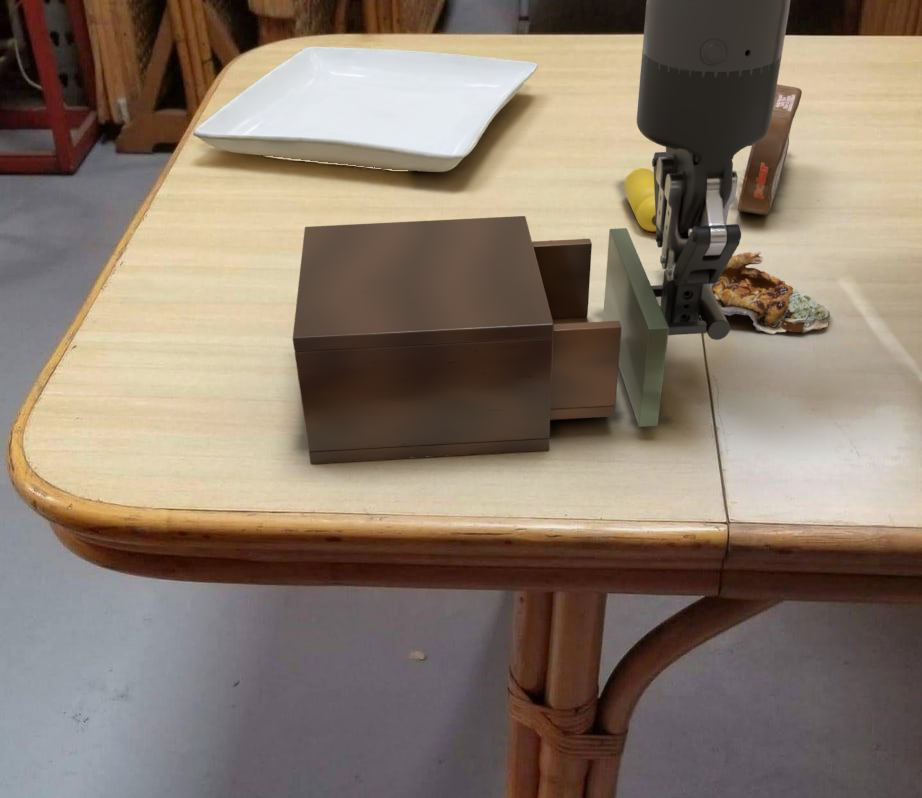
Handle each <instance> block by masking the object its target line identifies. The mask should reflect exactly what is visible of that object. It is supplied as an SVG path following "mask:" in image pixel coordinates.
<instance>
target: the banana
mask: <svg viewBox="0 0 922 798" xmlns="http://www.w3.org/2000/svg"><path fill="white" fill-rule="evenodd" d="M623 190H624V194H625V196H626V198H627V201H628V203H629V205H630V207H631V210H632V212H633V214H634V216H635V219H636V221H637V223H638V225H639V226H640V227H641V228H642V229H643V230H646V232H647V231H648V232H652V233H653V232H654V233H655V232H656V213H655V191H654V170H651V169H649V168H647V167H638V168H635V169H633V170H631V171H630V172H629V173H628V175H627V176H626V178H625V180H624V183H623Z"/></svg>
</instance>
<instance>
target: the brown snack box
mask: <svg viewBox="0 0 922 798" xmlns="http://www.w3.org/2000/svg"><path fill="white" fill-rule="evenodd" d="M802 93H803V91H802V89H801V88H799V87H795V86H789V85H785V84H779V83H777V87H776V93H775V99H774V105H773V112H772V118H771V124H770V128H769V131H768V133H767V134H766V135H765V137H764V138H763V139H761V140H760V141H759V142H757V143H756V144H754V145H752V146H750V147H751V148H750V151H749V155H748V159H747V164H746V168H745V172H744V177H743V180H742V186H741V190H740V195H739V199H738V204H737V205H738V206H737V212H738V213H741V212H744V213H750V214H755V215H761V216H765V215H769V213H770V211H771V209H772V206H773V203H774V200H775V197H776V194H777V191H778V188H779V185H780V180H781V177H782V173H783V169H784V166H785V161H786V158H787V155H788V149H789V145H790V135H791V129H792V125H793V122H794V121H793V120H794V118H795V117H796V116H795V115H796V113H797V110H798V108H799V105H800V102H801V98H802Z"/></svg>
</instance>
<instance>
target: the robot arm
mask: <svg viewBox="0 0 922 798" xmlns="http://www.w3.org/2000/svg"><path fill="white" fill-rule="evenodd" d="M645 3H646V4H645V13H644V26H643V38H642V50H641V51H642V52H641V63H640V75H639V86H638V99H637V111H636V125H637V128H638V130H639V132H640V133H641V134H642V135H643V137H645V138H646V139H647V140H649V141H650V142H652V143H654V144H656V145H658V146H662V147H664V148H665V151H656V152H654V154H653V158H652V160H651V165H652V168H653V172H654V191H655V213H656V231H655V232H656V234H655V243H656V245H657V248H661V255H660V257H659V263H660V264H661V269H662V270H664V271H663V279H662V285H663V288H662V297H660V305H659V306H660V308H661V310H662V313H663V315H664V318H665V320H666V322H667V323H675V322H694V321H699V319H700V317H699V311H700V304H701V297H702V290H703V284H713V283H717V281H718V279H719V278H720V276H721V274H722V273H723V271H724V269H725V267H726V266H727V264H728V262H729V261H730V259H731V257H732V256H734V255H735V252H736V251H737V248H738V247H739V245H740V242H741V239H742V231H741V227H740V225H739V223H732V224H731V223H730V224H727V221H728V216H729V211H730V207H731V205H732V204H733V203H734V202H735V200H736V194H737V188H738V172H737V170H734V168H733V167H734V163H733V159H734V156H735V155H737V154H738V153H739V152H740V151H742V150H743V149H745V148H748V147H752V145H754V144H756V143H757V142H759V141H760V140H761V139H763V138H764V137H765V135H766V134H767V133H768V131H769V128H770V124H771V118H772V112H773V105H774V99H775V93H776V87H777V84H778V80H779V74H780V67H781V63H782V56H783V50H784V46H785V45H784V43H785V37H786V32H787V26H788V19H789V14H790V7H791V6H790V5H791V0H646V2H645Z"/></svg>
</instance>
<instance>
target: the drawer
mask: <svg viewBox="0 0 922 798" xmlns="http://www.w3.org/2000/svg"><path fill="white" fill-rule="evenodd" d="M532 243H533V247H534V251H535V255H536V259H537V263H538V266H539V270H540V274H541V278H542V282H543V286H544V290H545V293H546V297H547V301H548V305H549V309H550V313H551V316H552V320H553V324H554V331H553V358H552V385H551V412H550V421H554V420H555V421H556V420H572V419H573V420H574V419H590V418H607V417H608V418H609V417H614V416H615V410H616V399H617V387H618V375H619V372H620V374H621V379H622V380H623V383H624V387H625V390H626V393H627V395H628V398H629V402H630V405H631V408H632V410H633V413H634V416H635V419H636V420H635V421H636V422H637V426H638V427H639V428H644V427H646V428H647V427H658V424H659V417H660V416H659V415H660V408H661V400H662V399H661V398H662V392H663V391H662V390H663V381H664V374H665V364H666V358H667V357H666V356H667V348H668V347H667V346H668V339H669V336H678V335H679V336H680V335H681V336H682V335H698V334H699V335H701V334H707V336H708V337H709V338H710V339H712V340H714V341H720V340H723V339H724V338H726V337H727V336H728V335H729V334H730V331H731V326H730V323H729V321H728V320H727V317H726V314H724V313H723V311H722V309H721V307H720V305H719V303H718V301H717V300H716V298H715V296H714V294H713V292H712V290H711V288H710V286H709V284H703V290H702V297H701V304H700V311H699V319H700V320H698V321H694V322H675V323H667V322H666V320H665V318H664V315H663V313H662V310H661V308H660V306H661V305H660V304H659V301H658V298H661V297H662V288H663V284H658V285H654V284H653V285H652V284H651V281H650V280H649V278H648V275H647V273H646V270H645V268H644V266H643V263H642V261H641V258H640V256H639V254H638V252H637V249H636V247H635V244H634V242H633V240H632V237H631V235H630V232H629V230H628V228H627V227H622V228H621V227H619V228H609V232H608V245H607V261H606V272H605V286H604V287H605V288H604V290H605V291H604V301H603V314H602V315H603V316H602V318H603V321H589V319H588V316H589V315H588V314H589V300H590V299H589V298H590V283H591V282H590V281H591V267H592V266H591V265H592V251H593V244H592V241H591V238H575V239H556V240H553V239H552V240H537V241H534V240H532Z"/></svg>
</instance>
